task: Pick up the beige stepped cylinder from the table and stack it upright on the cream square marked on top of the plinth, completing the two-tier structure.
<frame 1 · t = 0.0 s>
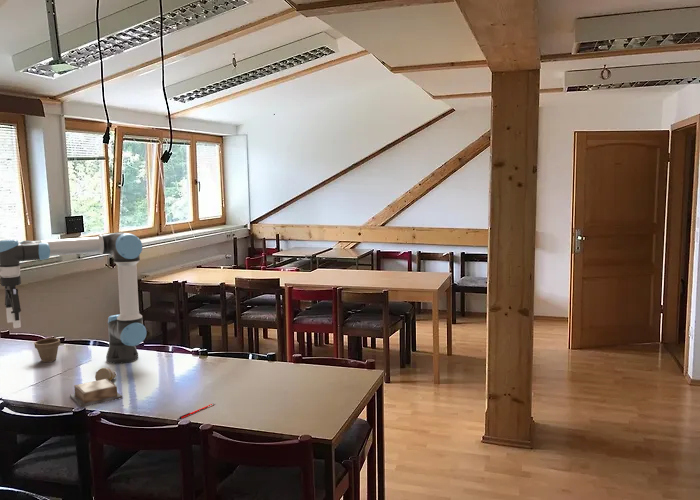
hand: (13, 325, 255), 28 cm above the table, tool pointing down, fingers open, 13 cm apart
pen: (197, 413, 229), on the table
beige stepped cylinder: (106, 382, 266), on the table
plinth: (96, 397, 246), on the table
flower pot: (48, 360, 299), on the table
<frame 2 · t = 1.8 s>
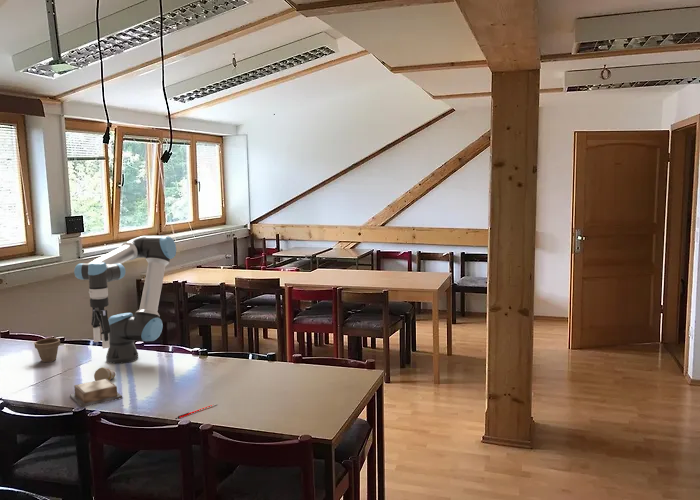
hand: (101, 344, 264), 17 cm above the table, tool pointing down, fingers open, 13 cm apart
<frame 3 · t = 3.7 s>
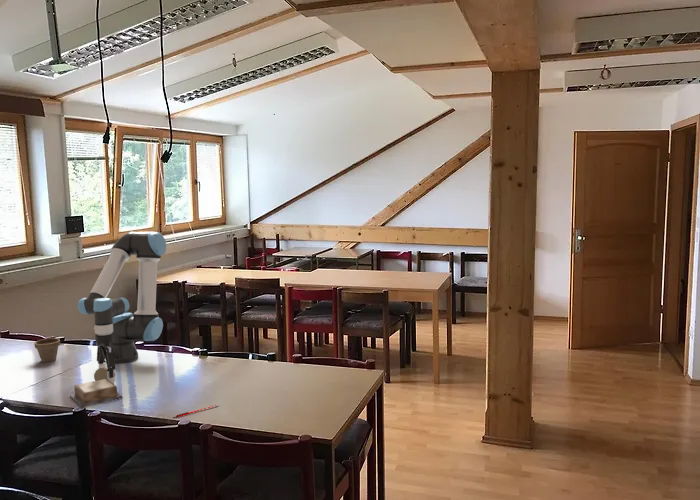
hand: (106, 381, 266), 0 cm above the table, tool pointing down, fingers open, 11 cm apart
beige stepped cylinder: (106, 381, 267), on the table, touching gripper
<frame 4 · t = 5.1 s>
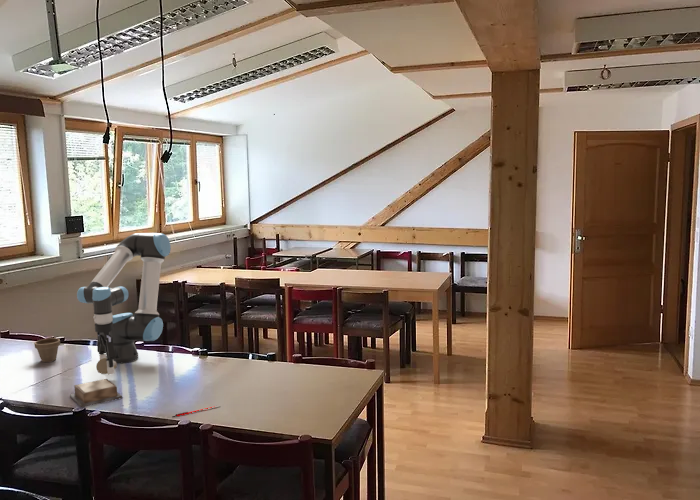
hand: (107, 371, 266), 5 cm above the table, tool pointing down, fingers closed on beige stepped cylinder, 9 cm apart
beige stepped cylinder: (108, 372, 267), point 4 cm above the table, touching gripper
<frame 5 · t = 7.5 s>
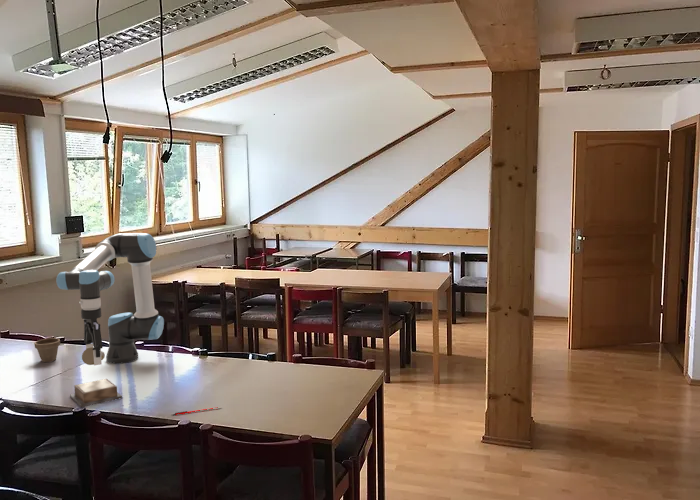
hand: (94, 361, 244), 15 cm above the table, tool pointing down, fingers closed on beige stepped cylinder, 9 cm apart
beige stepped cylinder: (94, 363, 245), point 14 cm above the table, touching gripper
when the fingers open (6 cm above the table, at t = 9.9 s): beige stepped cylinder stays where it is, resting on plinth.
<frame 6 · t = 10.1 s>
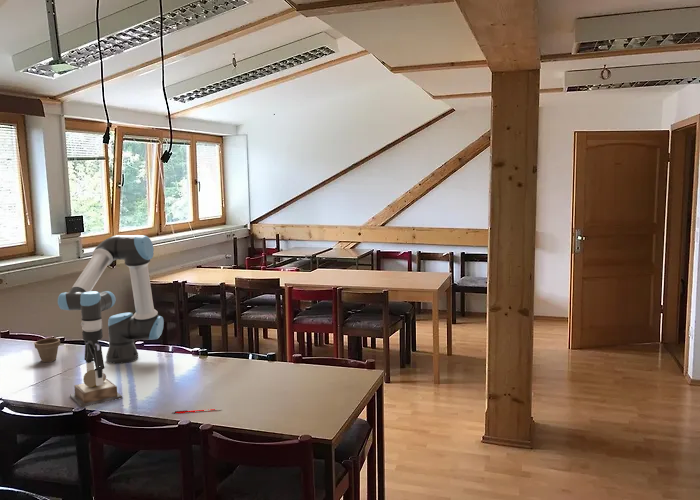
hand: (95, 381, 245), 7 cm above the table, tool pointing down, fingers open, 11 cm apart
beige stepped cylinder: (96, 385, 246), point 5 cm above the table, touching plinth
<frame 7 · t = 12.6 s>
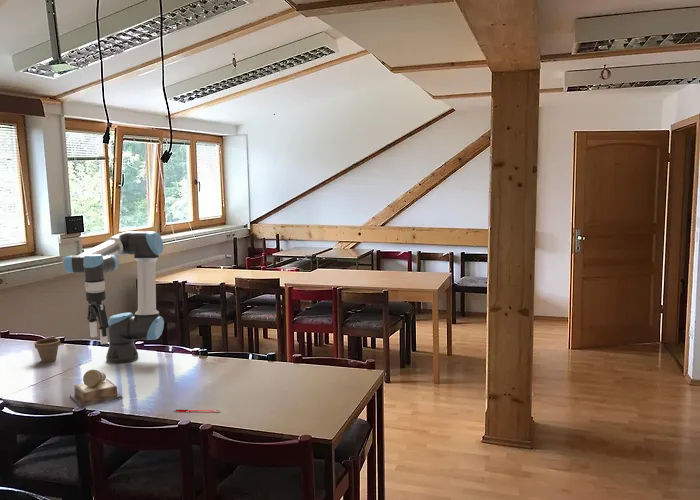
hand: (99, 340, 252), 22 cm above the table, tool pointing down, fingers open, 13 cm apart
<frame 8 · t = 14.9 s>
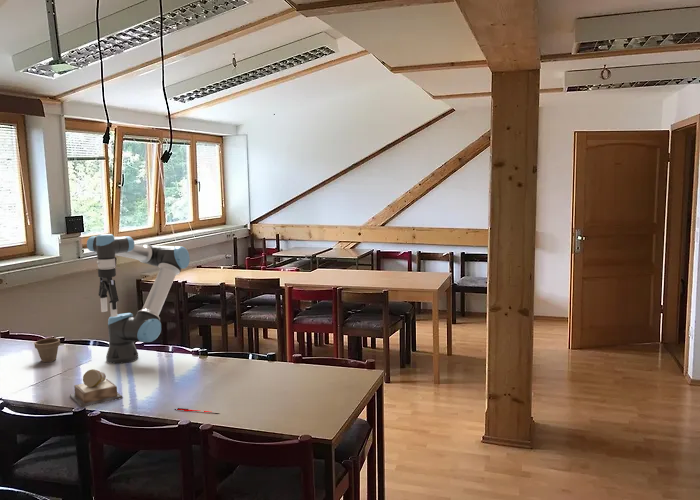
hand: (109, 314, 272), 29 cm above the table, tool pointing down, fingers open, 13 cm apart
at the end: beige stepped cylinder inside the target area on the plinth (1.4 cm from its centre), point 5.0 cm above the plinth's base; beige stepped cylinder tilted 0°; the gripper is holding nothing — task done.
